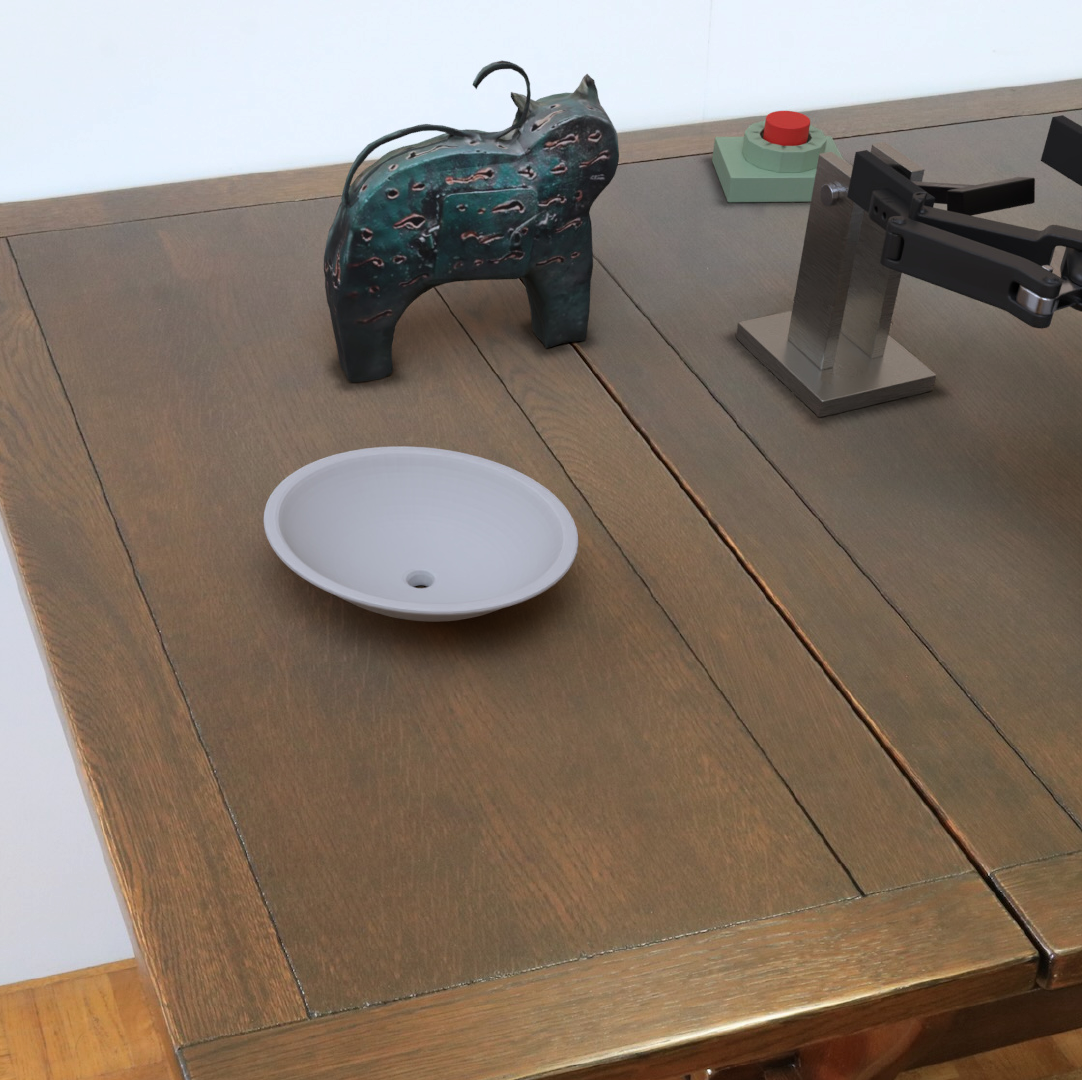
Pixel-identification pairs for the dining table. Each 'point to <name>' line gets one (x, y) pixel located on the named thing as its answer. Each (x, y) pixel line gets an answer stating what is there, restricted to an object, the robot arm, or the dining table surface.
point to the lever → (982, 195)
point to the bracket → (841, 305)
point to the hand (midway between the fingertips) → (955, 155)
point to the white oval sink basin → (420, 532)
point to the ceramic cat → (471, 221)
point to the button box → (768, 166)
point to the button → (786, 128)
